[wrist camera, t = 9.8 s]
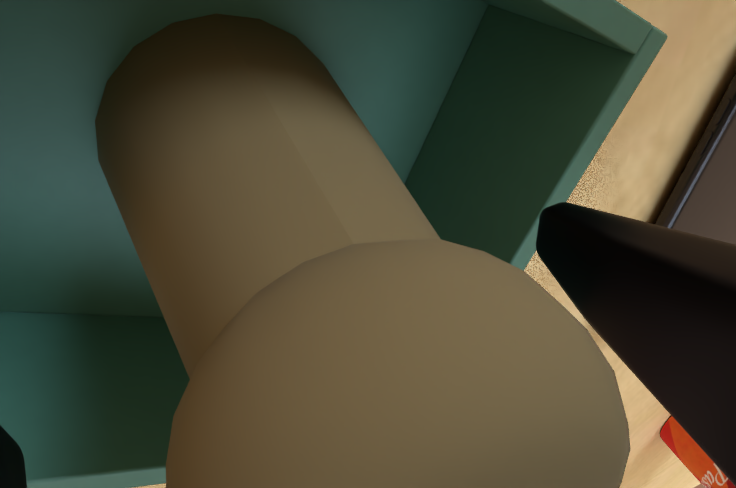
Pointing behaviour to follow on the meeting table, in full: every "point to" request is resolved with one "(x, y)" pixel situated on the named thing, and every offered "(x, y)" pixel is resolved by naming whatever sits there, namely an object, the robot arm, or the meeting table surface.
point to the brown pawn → (332, 291)
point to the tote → (373, 106)
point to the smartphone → (708, 180)
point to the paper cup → (693, 456)
